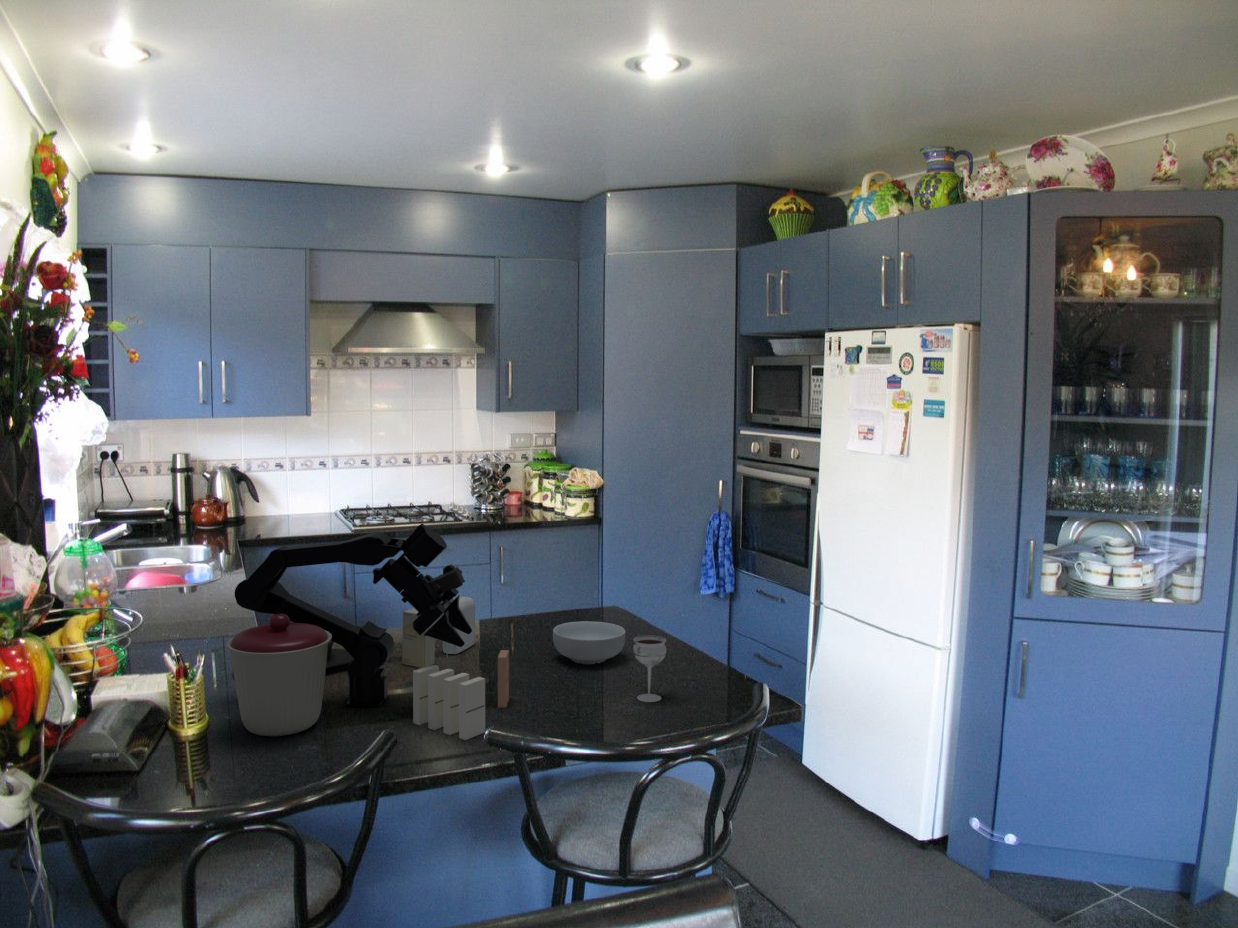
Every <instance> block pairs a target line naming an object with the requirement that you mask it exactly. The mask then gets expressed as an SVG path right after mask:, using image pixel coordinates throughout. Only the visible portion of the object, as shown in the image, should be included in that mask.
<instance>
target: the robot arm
mask: <svg viewBox="0 0 1238 928" xmlns="http://www.w3.org/2000/svg"><path fill="white" fill-rule="evenodd" d="M447 544H448V543H446V541H445V540H444V538H443V537H442V536H441V535H440V534H439V533H438V532H436V531H434V530H433V529H432V528H430V527H427V526H426V525H425V524H424V523H421V524H419V525H418V526H417V527H416V528H415V530H414V531H413V532H412V533H411V534H410V535H409V536H408V538H406V539H402V538H401V539H399V538H394V537H390V536H389V535H387V534H386V533H385V532H383V531H374V532H370V533H367V534H364V535H359V536H356V537H354V538H351V539H347V540H344V541H335V542H325V543H314V544H304V545H293V546H287V545H282V546H279V547H277V548H275V549H273V550H272V551H270V552H269V554H268V556H267V557H266V559H264V561H263V562H262V563H261V564H260V565H259V566H258V567H257V568H256V569H255V571H254V572H252V573H251V575H250V576H249V577H247V578H245V579H244V580H242V581H240V582H239V583H237V585H236V586H235V589H234V599H235V601H236V603H237V605H238V606H239V607H241V608H243V609H245V610H249V611H252V612H256V613H260V614H266V615H267V614H268V615H275V614H285V615H287V616H288V617H289V619H290V623H305V624H311V625H315V626H318V627H320V628H322V629H323V630H326V631H328V632H329V633H330V634H331V635H332V639H331V641H333V642H334V643H335V644H337V645H339V646H341V647H343V648H342V649H344V650H346V651H347V652H348V653H349V654H350V656H351V657H352V658H354V659H353V660H352V661H351V662H350V663H348V664H347V666H346V668H345V669H346V672H347V675H348V678H349V679H348V681H349V682H348V686H349V688H348V690H349V692H348V695H349V696H348V697H349V699H348V701H347V702H346V706H347V707H380V706H381V705H382V704H383V702H384V701H385V700H386V698H388V695H389V694H388V676H386V675H385V668H383V665H385V663H386V662H387V661H388V659H389V658H390V657H391V656H392V654H393V653H394V652H395V651H394V650H395V641H394V637H393V636H392V635H391V634H390V633H388V632H387V630H388V629H387V628H384V627H380V626H377V625H376V624H375V623H374V622H371V621H369V620H368V621H366V622H365V624H364V625H362V626H359V625H354V624H352V623H349V622H348V621H345V620H343V619H341V618H339V617H338V616H335V615H333V614H331V613H329V612H326V611H325V610H324V609H321V608H318V607H317V606H315V605H313V604H311V603H309V602H306V601H305V600H302V599H301V598H298V597H296V596H294V595H292V594H291V593H289V592H288V590H287V589H286V588H285V587H284V586H283V585H282V584H281V583H280V582H279V581H280V579H281V578H283V577H282V576H283V575H284V573H285V572H286V570H287V569H288V568H298V567H304V566H305V567H307V566H316V565H327V564H334V563H335V564H337V563H345V564H347V563H348V564H351V565H358V566H370V567H372V566H378V565H380V564H381V563H382V562H383V561H385V560H387V559H388V560H387V561H386V562H385V563H384V564H383V565H382V566H381V567H375V568H373V570H372V575H373V578H372V579H373V580H372V583H373V584H374V585H376V584H378V583H379V582H380V581H381V580H382V579H383V578H384V580H386V582H387V583H388V584H389V585H390V586H391V587H392V588H393V589H394V590H396V592H397V593H399V595H400V596H401V597H402V598H401V599H400V600H401V601H402V602H403V603H404V604H405V603H407V602H408V604H410V606H412V608H415V609H416V610H417V611H418V613H417V614H416V615H417V616H418V617H417V618H416V619H415V620H414V622H413V629H414V630H415V631H416V632H417V633H418V634H419V635H421V634H422V633H423V632H424V631H425V630H426V629H428V630H427V631H426V632H425V633H424V636H429V637H432V638H435V640H436V639H437V640H439V641H441V642H443V641H445V642H447V643H450V644H453V645H456V646H458V647H462V646H463V645H464V644H465V642H464V641H463V640H462V638H461V637H460V635H459V634H458V633H457V631H456V630H455V629H454V628H456V629H458V630H460V631H462V632H464V633H466V634H470V633H471V632H472V629H471V627H470V625H469V624H468V622H467V620H466V619H465V617H464V615H463V614H462V612H461V610H460V608H459V598H460V597H461V596H460V595H459V590H458V588H460V587H462V586H463V585H464V583H466V580H465V579H464V576H463V571H462V570H461V569H460V568H459V566H456V567H455V566H454V565H453V564H451V563H450V564H448V565H446V566H443V568H442V574H439V575H437V576H436V577H432V576H431V575H430V574H425V575H424V574H423V573H421V571H420V570H419V569H418V568H421V566H422V567H424V568H427V567H428V566H429V565H430V564H431V563H432V562H433V561H435V559H436V558H437V557H439V556H440V555H441V554H442V552H443V551H444V550H446V549H447V547H448V545H447ZM401 551H402V552H403V553H401V555H400V556H399V557H398V558H397V559H395V558H394V557H396V555H398V554H399V553H400V552H401ZM453 627H454V628H453ZM381 667H382V668H381Z"/></svg>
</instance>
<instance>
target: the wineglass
mask: <svg viewBox="0 0 1238 928" xmlns="http://www.w3.org/2000/svg"><path fill="white" fill-rule="evenodd" d="M633 642H634V645H633V648H632V653H633V656H634V658H635V659H636V660H637V661H638V662H639V663H640V664H642V665H644V666H645V668H647V693H642V694H639V695H638V696H636V699H637V700H638V701H640V702H645V703H655V702H659V701H661V700H662V697H661V695H658V694H655V693H651V685H652V683H651V682H652V668H653V667H655V665H658V664H660V663H661V662H662V661H663V660H664V659H665V657H666V654H667V646H666V645H665V644H666V642H667V639H666V638H665V637H663V636H658V635H651V634H650V635H649V634H648V635H639V636H636V637H634V638H633Z"/></svg>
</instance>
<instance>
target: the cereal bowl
mask: <svg viewBox="0 0 1238 928" xmlns="http://www.w3.org/2000/svg"><path fill="white" fill-rule="evenodd" d="M552 641H553V645H554V648H555V649H556V650H557V652H559V653H560V655H562V656H564V657H566V658H569V659H570V661H572V662H573V661H574V662H573V663H577V664H580V663H581V664H580V665H596V664H595V663H598V664H602V663H604V662H605V661H606V660H608V659H611V658H614V657H615V656H617V655H618V654H619V653H620V652H621V651H622V650H623V648H624V646H625V642H626V630H625V628H624V627H622V626H621V625H618V624H616V623H615V624H614V623H611V622H610V623H609V622H605V621H588V620H586V621H583V620H582V621H569V622H565V623H560V624H558V625H556V626H555V627H554V628H553V630H552ZM601 662H602V663H601Z"/></svg>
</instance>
